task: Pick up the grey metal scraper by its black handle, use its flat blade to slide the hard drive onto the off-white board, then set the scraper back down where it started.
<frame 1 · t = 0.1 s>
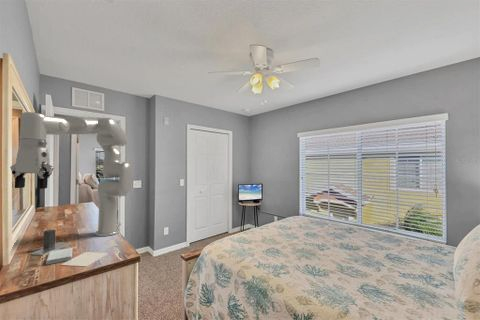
hand: (31, 188, 85), 31 cm above the dresser top, tool pointing down, fingers open, 9 cm apart
hard drive: (60, 257, 95), on the dresser top, touching board
board: (86, 259, 94), on the dresser top
scraper: (51, 249, 104), on the dresser top
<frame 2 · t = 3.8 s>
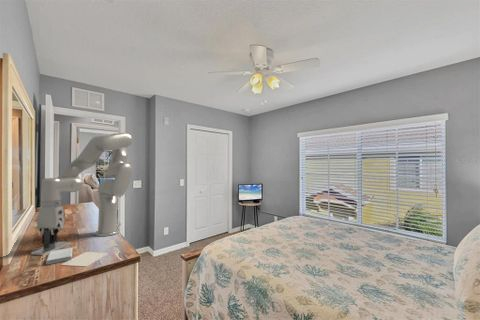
hand: (49, 242, 104), 3 cm above the dresser top, tool pointing down, fingers closed on scraper, 3 cm apart
scraper: (52, 249, 104), on the dresser top, touching gripper
everything else where it was.
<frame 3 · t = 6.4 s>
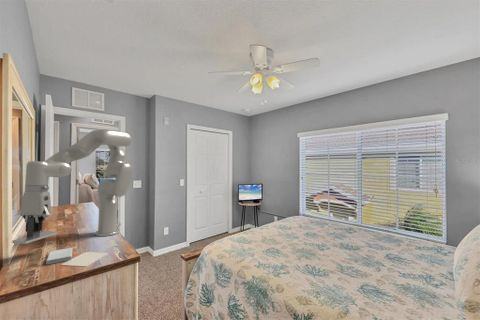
hand: (33, 230, 96), 11 cm above the dresser top, tool pointing down, fingers closed on scraper, 3 cm apart
scraper: (36, 238, 95), point 8 cm above the dresser top, touching gripper
everything else where it was.
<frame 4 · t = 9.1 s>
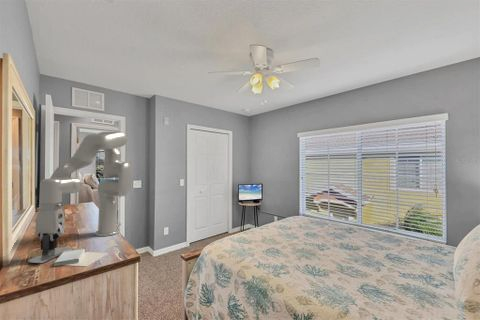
hand: (48, 248, 95), 4 cm above the dresser top, tool pointing down, fingers closed on scraper, 3 cm apart
hard drive: (70, 259, 93), on the dresser top, touching board
scraper: (51, 255, 95), point 1 cm above the dresser top, touching gripper
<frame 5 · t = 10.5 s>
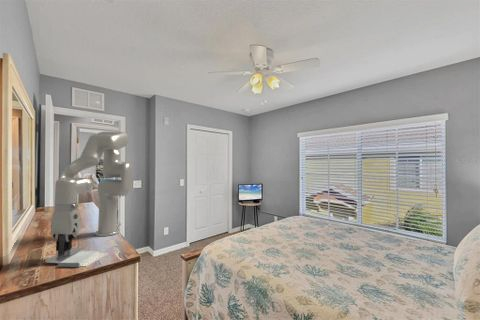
hand: (63, 249, 95), 4 cm above the dresser top, tool pointing down, fingers closed on scraper, 3 cm apart
hard drive: (80, 260, 92), resting on board
scraper: (67, 255, 95), point 1 cm above the dresser top, touching gripper
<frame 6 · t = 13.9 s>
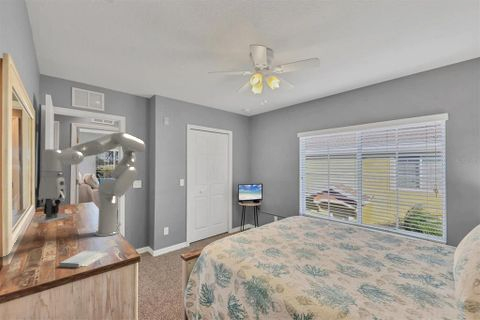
hand: (51, 213, 104), 17 cm above the dresser top, tool pointing down, fingers closed on scraper, 3 cm apart
scraper: (54, 218, 104), point 14 cm above the dresser top, touching gripper
when the fingers open (5 cm above the dresser top, at t = 16.5 s): scraper drops 2 cm, on the dresser top.
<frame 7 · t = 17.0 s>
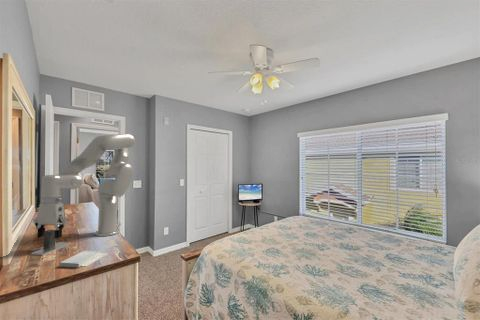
hand: (49, 237, 104), 6 cm above the dresser top, tool pointing down, fingers open, 8 cm apart
scraper: (52, 249, 104), on the dresser top
everything else where it was.
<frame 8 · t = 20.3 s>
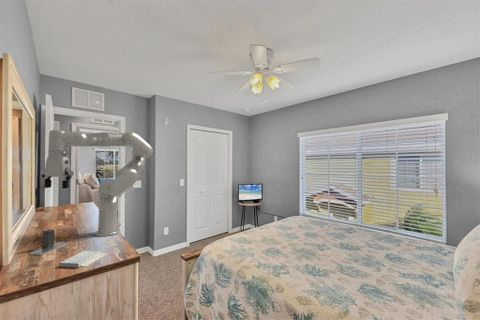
hand: (56, 187, 111), 28 cm above the dresser top, tool pointing down, fingers open, 9 cm apart
nothing on the dresser top moved.
at the end: hard drive inside the target area (2.0 cm from its centre), resting on board; the gripper is holding nothing; scraper touching dresser top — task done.
